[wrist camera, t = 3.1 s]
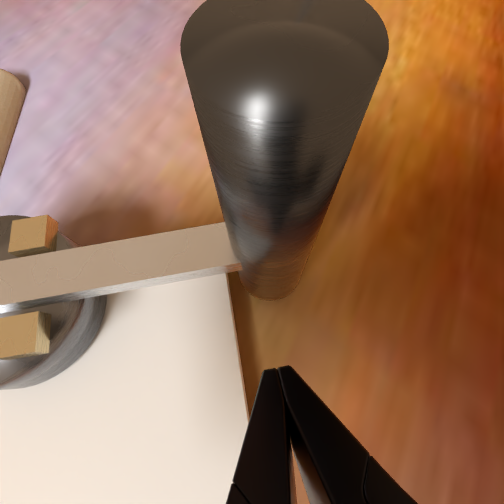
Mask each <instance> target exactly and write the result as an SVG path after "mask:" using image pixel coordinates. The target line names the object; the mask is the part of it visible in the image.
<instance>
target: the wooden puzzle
mask: <svg viewBox="0 0 504 504" xmlns="http://www.w3.org/2000/svg"><path fill="white" fill-rule="evenodd" d="M25 94H26V90H25V88H24V86H23V84H22V83H21V82H20V81H19V80H18V78H17V77H15V76H14V75H13V74H11V73H9V72H7V71H5V70H3V69H0V174H1V171H2V168H3V165H4V162H5V159H6V156H7V152H8V149H9V146H10V143H11V140H12V137H13V133H14V130H15V127H16V124H17V121H18V118H19V114H20V111H21V108H22V105H23V101H24V98H25Z"/></svg>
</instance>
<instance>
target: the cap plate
mask: <svg viewBox="0 0 504 504" xmlns="http://www.w3.org/2000/svg"><path fill="white" fill-rule="evenodd" d="M249 419H250V418H249V412H248V405H247V399H246V392H245V386H244V379H243V373H242V366H241V359H240V353H239V346H238V340H237V333H236V327H235V320H234V314H233V307H232V301H231V294H230V287H229V281H228V274H227V273H223V274H217V275H212V276H206V277H201V278H195V279H190V280H184V281H178V282H173V283H167V284H162V285H156V286H151V287H145V288H139V289H134V290H128V291H123V292H117V293H111V294H107V304H106V309H105V314H104V317H103V320H102V323H101V325H100V327H99V330H98V332H97V334H96V335H95V337H94V339H93V340H92V342H91V344H90V345H89V346H88V348H87V349H86V350H85V352H84V353H83V354H82V355H81V356H80V357H79V358H78V359H77V360H76V361H75V362H74V363H73V364H72V365H70V366H69V367H68V368H67V369H66V370H64V371H63V372H61V373H60V374H58V375H57V376H55V377H53V378H51V379H49V380H47V381H45V382H42V383H40V384H37V385H34V386H30V387H26V388H19V389H8V390H0V504H226V501H227V497H228V494H229V490H230V487H231V484H232V483H233V482H232V480H233V476H234V473H235V469H236V466H237V462H238V459H239V455H240V451H241V448H242V444H243V441H244V437H245V433H246V430H247V426H248V423H249Z"/></svg>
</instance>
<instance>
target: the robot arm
mask: <svg viewBox="0 0 504 504" xmlns="http://www.w3.org/2000/svg"><path fill="white" fill-rule="evenodd" d="M290 440H291V441H290ZM291 444H292V448H293V452H294V455H295V458H296V461H297V465H298V468H299V471H300V474H301V477H302V480H303V483H304V486H305V489H306V492H307V495H308V499H309V502H310V504H418V503H417V502H416V501H415V500H414V499H413V498H412V497H410V496H409V495H408V494H407V493H406V492H405V491H404V490H403V489H402V488H401V487H400V486H399V485H398V484H397V483H396V482H395V480H394V479H393V478H392V477H391V476H390V475H389V474H388V473H387V472H386V471H385V470H384V469H383V468H382V467H381V466H380V464H379V463H378V462H377V461H376V460H375V459H374V458H373V457H372V456H370V454H369V452H368V451H367V450H366V449H365V448H364V447H363V446H362V445H361V443H360V442H359V441H358V440H357V439H356V438H355V437H354V436H353V435H352V433H351V432H350V431H349V430H348V429H347V428H346V427H345V426H344V425H343V423H342V422H341V421H340V420H339V419H338V418H337V417H336V416H335V415H334V413H333V412H332V411H331V410H330V409H329V408H328V407H327V406H326V405H325V403H324V402H323V401H322V400H321V399H320V398H319V397H318V396H317V395H316V393H315V392H314V391H313V390H312V389H311V388H310V387H309V386H308V385H307V383H306V382H305V381H304V380H303V379H302V378H301V377H300V376H299V374H298V373H297V372H296V371H295V370H294V369H293V368H292V367H291V366H289V365H288V366H283V367H278V369H276V368H272V369H267V370H264V371H263V373H262V376H261V380H260V383H259V387H258V390H257V394H256V398H255V401H254V405H253V408H252V412H251V416H250V419H249V423H248V426H247V430H246V433H245V437H244V441H243V444H242V448H241V451H240V455H239V459H238V462H237V466H236V469H235V473H234V476H233V480H232V482H233V483H232V484H231V487H230V490H229V494H228V497H227V501H226V504H297V498H296V487H295V477H294V466H293V456H292V448H291Z"/></svg>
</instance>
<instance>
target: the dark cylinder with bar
mask: <svg viewBox="0 0 504 504" xmlns="http://www.w3.org/2000/svg"><path fill="white" fill-rule="evenodd" d="M180 46H181V56H182V61H183V65H184V69H185V72H186V76H187V80H188V84H189V88H190V91H191V95H192V99H193V103H194V107H195V111H196V114H197V118H198V122H199V126H200V130H201V133H202V137H203V141H204V145H205V149H206V152H207V156H208V160H209V164H210V168H211V172H212V175H213V179H214V183H215V187H216V191H217V194H218V198H219V202H220V206H221V210H222V213H223V217H224V221H225V222H221V223H216V224H210V225H204V226H198V227H193V228H187V229H181V230H175V231H170V232H164V233H158V234H152V235H147V236H141V237H135V238H129V239H124V240H118V241H112V242H106V243H101V244H95V245H89V246H83V247H81V246H79V245H78V244H76V243H75V242H74V241H72V240H71V239H69V238H68V237H66V236H65V235H63V234H62V233H60V232H59V231H58V222H57V221H55V220H54V219H52V218H51V217H50V216H48V215H43V216H37V217H26V216H19V215H8V216H0V390H8V389H19V388H26V387H30V386H34V385H37V384H40V383H42V382H45V381H47V380H49V379H51V378H53V377H55V376H57V375H58V374H60V373H61V372H63V371H64V370H66V369H67V368H68V367H69V366H70V365H72V364H73V363H74V362H75V361H76V360H77V359H78V358H79V357H80V356H81V355H82V354H83V353H84V352H85V350H86V349H87V348H88V346H89V345H90V344H91V342H92V340H93V339H94V337H95V335H96V334H97V332H98V330H99V327H100V325H101V323H102V320H103V317H104V314H105V309H106V304H107V294H111V293H117V292H123V291H128V290H134V289H139V288H145V287H151V286H156V285H162V284H167V283H173V282H178V281H184V280H190V279H195V278H201V277H206V276H212V275H217V274H223V273H229V272H234V271H238V274H239V278H240V281H241V283H242V285H243V287H244V288H245V289H246V291H247V292H248V293H250V294H251V295H253V296H254V297H256V298H259V299H262V300H269V301H272V300H278V299H281V298H284V297H286V296H287V295H289V294H290V293H291V292H292V291H293V290H294V289H295V288H296V286H297V284H298V282H299V280H300V277H301V275H302V272H303V270H304V267H305V265H306V262H307V260H308V257H309V254H310V252H311V249H312V247H313V244H314V242H315V239H316V237H317V234H318V232H319V229H320V227H321V224H322V222H323V219H324V216H325V214H326V211H327V209H328V206H329V204H330V201H331V199H332V196H333V194H334V191H335V189H336V186H337V183H338V181H339V178H340V176H341V173H342V171H343V168H344V166H345V163H346V161H347V158H348V156H349V153H350V151H351V148H352V145H353V143H354V140H355V138H356V135H357V133H358V130H359V128H360V125H361V123H362V120H363V118H364V115H365V113H366V110H367V107H368V105H369V102H370V100H371V97H372V95H373V92H374V90H375V87H376V85H377V82H378V80H379V77H380V74H381V72H382V69H383V67H384V64H385V62H386V59H387V55H388V50H389V39H388V34H387V30H386V28H385V25H384V23H383V21H382V19H381V18H380V16H379V15H378V13H377V12H376V11H375V10H374V9H373V8H372V6H371V5H369V4H368V3H367V2H366V1H365V0H207V1H205V2H204V3H203V4H202V5H201V6H200V7H199V8H198V9H197V10H196V11H195V12H194V13H193V14H192V16H191V17H190V18H189V20H188V22H187V24H186V25H185V28H184V31H183V33H182V37H181V44H180Z"/></svg>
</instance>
